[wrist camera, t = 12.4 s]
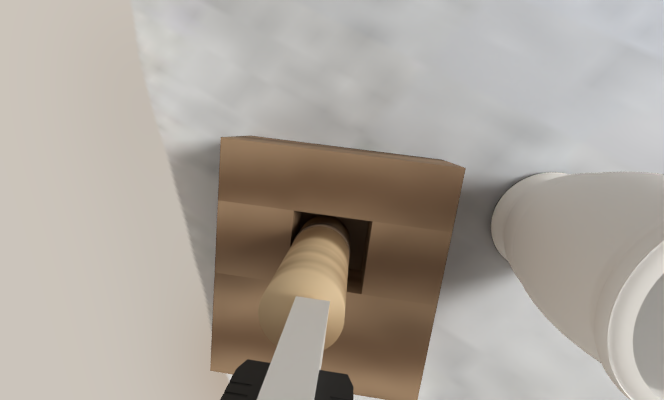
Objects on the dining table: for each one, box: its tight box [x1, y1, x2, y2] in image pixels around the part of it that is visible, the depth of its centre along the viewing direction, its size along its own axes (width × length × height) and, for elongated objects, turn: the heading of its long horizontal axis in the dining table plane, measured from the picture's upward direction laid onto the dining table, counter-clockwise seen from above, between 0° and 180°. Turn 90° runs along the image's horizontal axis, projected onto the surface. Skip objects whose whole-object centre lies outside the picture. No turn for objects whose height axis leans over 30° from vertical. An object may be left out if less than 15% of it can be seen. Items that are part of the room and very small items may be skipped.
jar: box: [491, 172, 664, 400], centre depth 20 cm, size 11×10×15 cm
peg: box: [258, 215, 350, 350], centre depth 21 cm, size 4×4×12 cm
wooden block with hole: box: [210, 136, 466, 400], centre depth 26 cm, size 18×16×6 cm
